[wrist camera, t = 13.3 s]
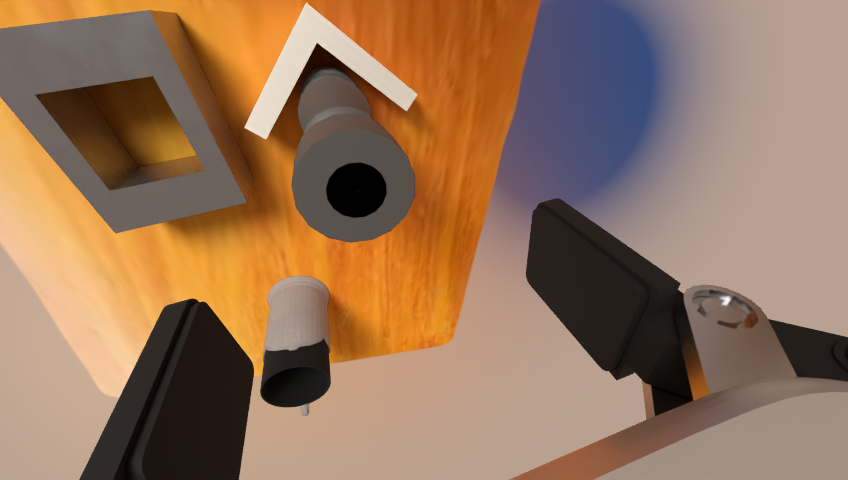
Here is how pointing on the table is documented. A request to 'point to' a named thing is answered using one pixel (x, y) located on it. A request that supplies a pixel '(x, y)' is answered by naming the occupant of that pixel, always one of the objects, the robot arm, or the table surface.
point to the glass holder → (296, 344)
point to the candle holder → (347, 162)
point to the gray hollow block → (92, 135)
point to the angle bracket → (295, 57)
